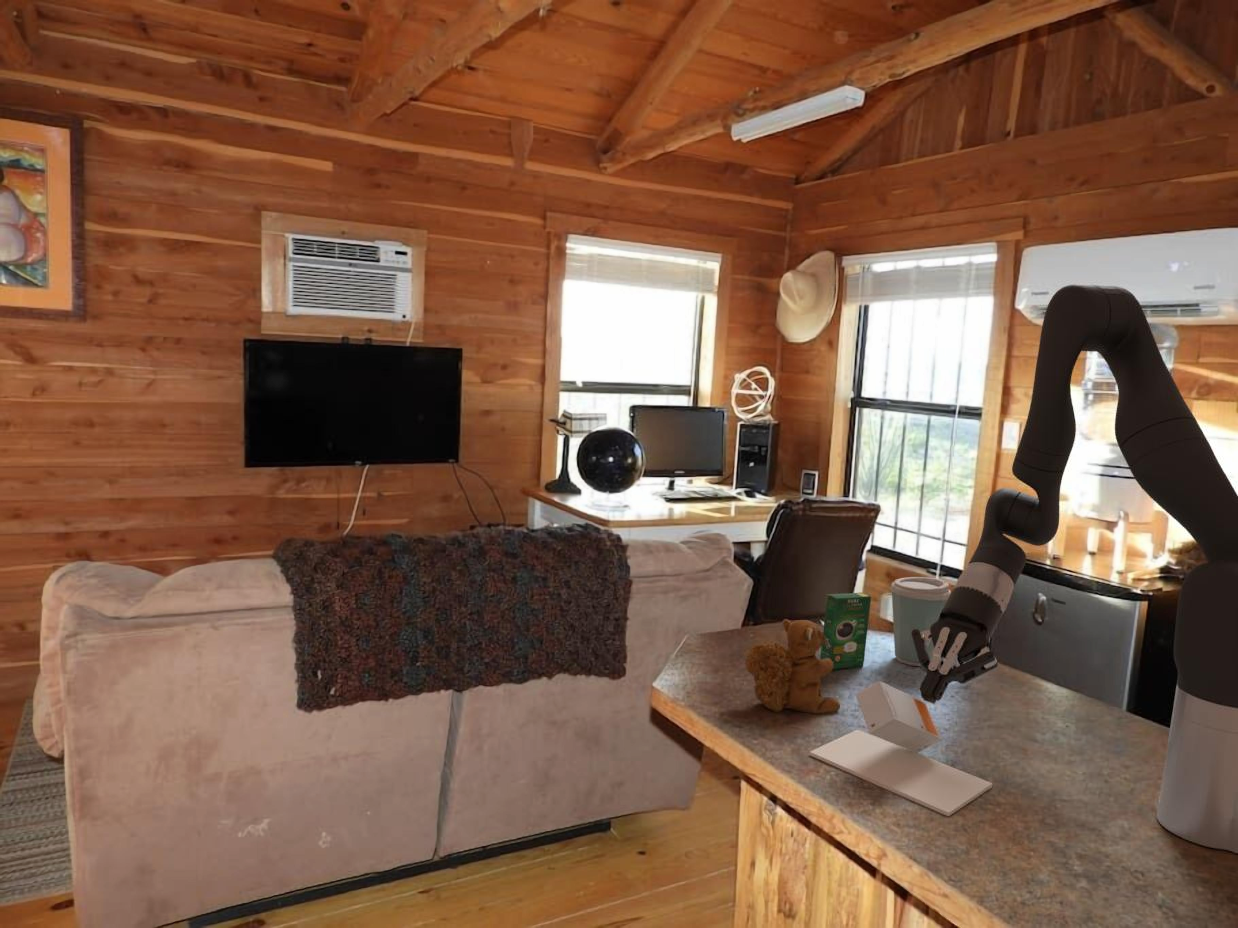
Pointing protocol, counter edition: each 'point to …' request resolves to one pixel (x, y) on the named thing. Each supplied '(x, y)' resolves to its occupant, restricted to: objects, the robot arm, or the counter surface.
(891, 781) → the flat beige rectangular board
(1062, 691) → the counter surface
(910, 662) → the disposable coffee cup
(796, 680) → the stuffed squirrel
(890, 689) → the skincare box
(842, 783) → the counter surface
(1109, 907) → the counter surface
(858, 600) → the coffee box
